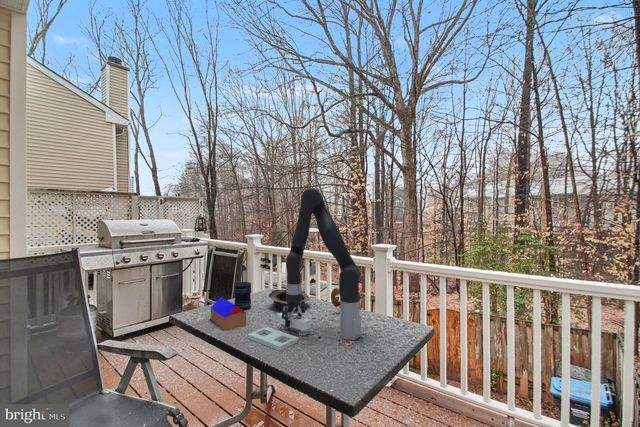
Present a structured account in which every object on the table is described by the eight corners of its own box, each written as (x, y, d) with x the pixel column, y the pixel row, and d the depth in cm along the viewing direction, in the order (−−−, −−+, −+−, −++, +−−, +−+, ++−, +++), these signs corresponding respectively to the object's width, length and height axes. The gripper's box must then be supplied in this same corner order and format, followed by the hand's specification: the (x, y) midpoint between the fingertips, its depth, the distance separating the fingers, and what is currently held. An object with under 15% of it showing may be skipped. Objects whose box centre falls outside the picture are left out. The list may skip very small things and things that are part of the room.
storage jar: (234, 306, 194) (234, 282, 194) (250, 305, 197) (250, 281, 197) (234, 311, 185) (234, 286, 184) (251, 310, 188) (251, 285, 187)
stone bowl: (271, 300, 207) (272, 286, 207) (309, 303, 207) (310, 289, 207) (264, 312, 182) (266, 296, 182) (307, 316, 182) (309, 300, 182)
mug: (355, 312, 186) (356, 286, 185) (356, 316, 177) (356, 290, 177) (331, 311, 187) (331, 285, 187) (330, 315, 179) (330, 289, 179)
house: (224, 331, 156) (224, 307, 155) (210, 320, 171) (210, 298, 171) (246, 325, 163) (247, 303, 163) (231, 315, 179) (231, 295, 178)
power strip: (310, 334, 152) (311, 319, 152) (304, 337, 149) (304, 322, 148) (284, 325, 163) (284, 311, 163) (277, 328, 160) (277, 314, 159)
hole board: (298, 341, 143) (298, 337, 143) (280, 351, 134) (280, 346, 134) (266, 330, 156) (267, 326, 156) (247, 338, 147) (247, 334, 147)
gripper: (289, 296, 148) (289, 330, 148) (308, 290, 159) (308, 322, 159) (278, 293, 152) (277, 327, 153) (297, 288, 164) (297, 319, 164)
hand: (293, 324), depth 156 cm, fingers open, 8 cm apart
